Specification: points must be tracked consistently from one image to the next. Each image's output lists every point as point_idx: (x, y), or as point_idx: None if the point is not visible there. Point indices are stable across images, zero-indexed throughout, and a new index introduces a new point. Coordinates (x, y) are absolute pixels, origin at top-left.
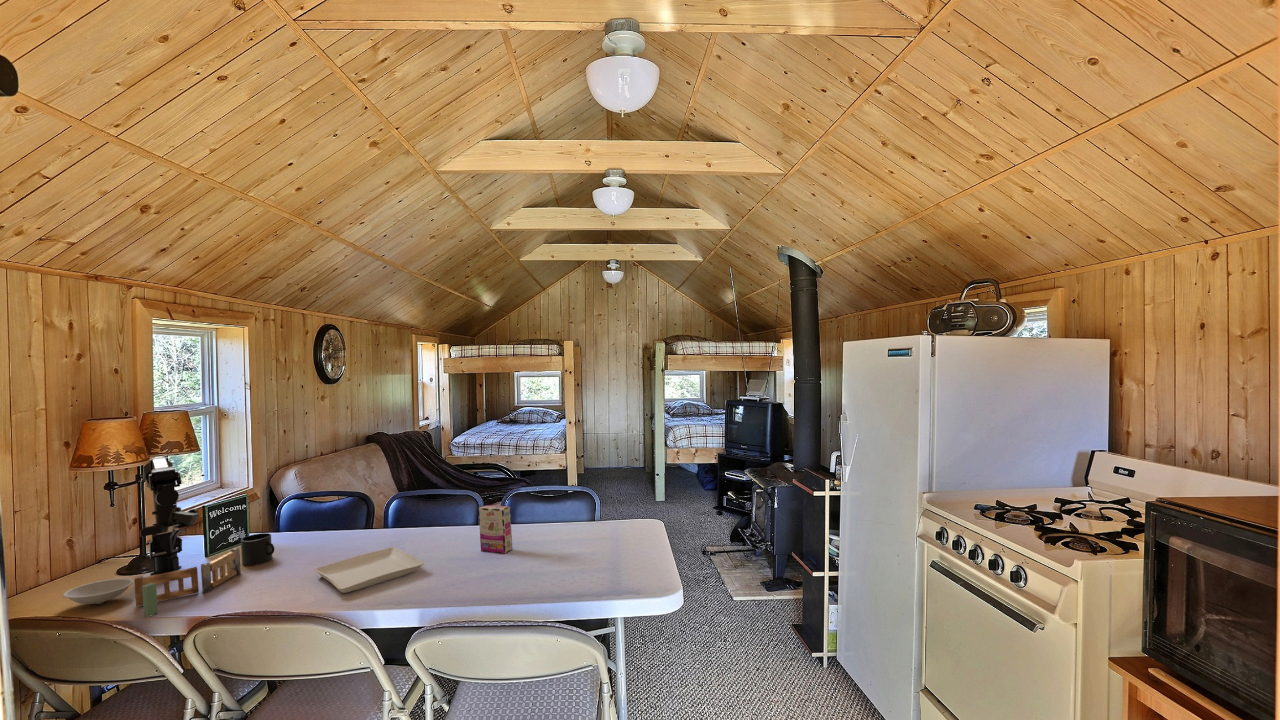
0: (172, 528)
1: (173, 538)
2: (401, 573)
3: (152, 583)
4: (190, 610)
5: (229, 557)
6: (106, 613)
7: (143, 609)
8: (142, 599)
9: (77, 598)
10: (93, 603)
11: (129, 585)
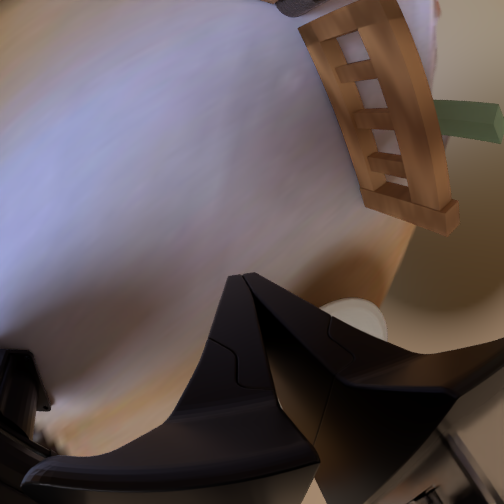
0: (488, 478)
1: (268, 375)
2: None
3: (497, 116)
4: (414, 21)
5: None
6: (380, 264)
7: None
8: (389, 183)
9: None
10: None
11: (340, 300)
